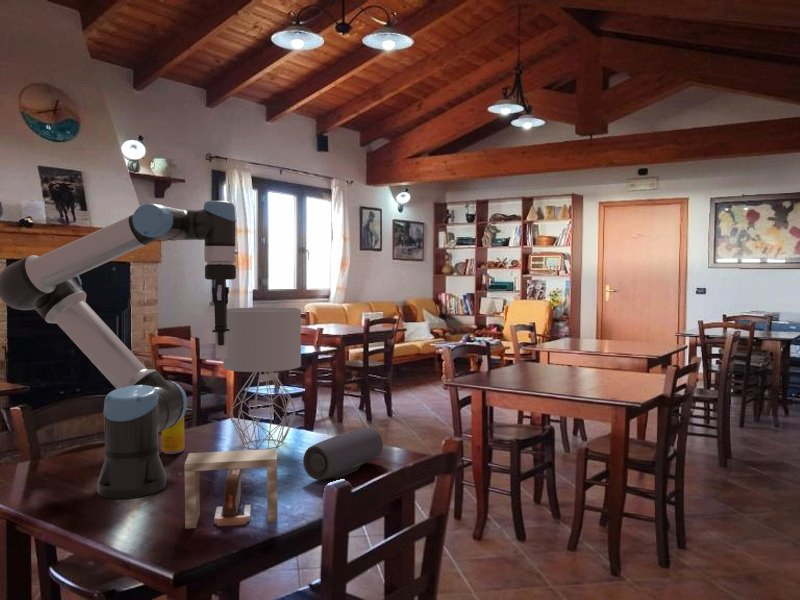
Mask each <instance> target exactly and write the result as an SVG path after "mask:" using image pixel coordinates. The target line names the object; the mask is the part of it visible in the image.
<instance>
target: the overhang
mask: <svg viewBox="0 0 800 600" xmlns="http://www.w3.org/2000/svg"><path fill="white" fill-rule="evenodd" d="M239 468H243V469H252V468H253V469H254V468H266V492H267V493H266V505H267V506H266V507H267V508H266V513H267V516H266V517H267V518H266V519H267V523H268V524H270V523H278V453H277V448H271V449H265V448H262V449H260V450H257V449H249V450H248V449H245V450H227V451H226V450H223V451H206V452H189V453H188V454H187V458H186V459H185V462H184V519H185V520H184V521H185V522H184V524H185V525H184V527H185V528H184V529H186V530H187V529H196V528H197V524H198V521H199V518H200V515H201V513H200V512H201V511H200V509H201V507H200V501H201V500H200V471H218V470H219V471H221V470H229V469H239Z"/></svg>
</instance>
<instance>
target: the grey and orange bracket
mask: <svg viewBox="0 0 800 600" xmlns="http://www.w3.org/2000/svg"><path fill="white" fill-rule="evenodd" d="M251 507H252V506H251V504H244V510H243V514H238V515H235V516H224V515H223V506H216V509H215V514H214V522H213V523H214V525H216V526H217V527H228V526H241V525H243V526H244V525H247V524H248V523H250V522H251V511H252V509H251Z"/></svg>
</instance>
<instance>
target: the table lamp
mask: <svg viewBox="0 0 800 600" xmlns="http://www.w3.org/2000/svg"><path fill="white" fill-rule="evenodd" d="M301 311H302V309H301V308H297V307H280V306H279V307H277V306H275V307H274V306H273V307H272V306H271V307H270V306H269V307H268V306H267V307H266V306H265V307H261V306H259V307H257V306H255V307H234V308H233V307H232V308H227V329H229V331H226V332H227V358H222V363H223V364H222V365H223V367H222V368H223V369H224V370H227V371H232V372H241V373H243V372H245V373H252V374H251V375H250V376H249V378H248V379H247V380H246V381H245V383H244V385H243V386H242V387H241V389H240V390H239V392H238V393H237V395H236V396H235V399H234V402H233V404H232V407H231V409H230V415H229V418H230V421H231V422H232V425H233V426H234V430H235V431H236V433H237V435H238V438H239V439H240V442H241V444H242V445H243V447H244V448H247V449H249V450H261V448H260V447H261V446H262V445H263V443H264V442H265V440H266V441H267V447H266V448H264V449H277V448H279V447H281V446H283V445H284V442H285V440H286V439H287V436H288V433H289V431H290V429H291V427H292V424H293V423H294V419H295V417H296V408H295V403H294V401H293V399H292V396H291V393H290V392H289V391H288V389H286V388H285V387H286V386H284V385H283V383H282V382H281V381H280V379H279V378H278V377H277V375H276V374H275V372H281V371H282V372H284V371H290V370H294V369H299V368H301V366H302V335H301V334H302V328H301V327H302V326H301V325H302V321H301V319H302V318H301V317H302V316H301V314H302V312H301ZM257 373H259V374H258V375H259V376H258V381H257V385H256V391H255V392H254V393H253V394H252V395H250V396H249V397H248V398H246V395H247V393H248V391H249V389H250V387H251V385H252V383H253V381H254V380H255V377H256V375H257ZM261 373H263V374H264V379H265V384H266V385H265V386H266V392H267V396H265V394H262V393H261V392H259V386H260V380H261V375H262V374H261ZM268 374H269V376H270V378H271V380H272V382H273V384H274V386H275V389H276V391H277V392H278V395H276V396H275V397H274V398H273V395H272V390H271V385H270V381H269V378H268ZM250 379H251V380H250ZM249 381H250V382H249ZM248 382H249V384H248ZM247 384H248V386H247V388H246V390H245V392H244V394H243V397H242V399H241V398H240V397H239V396H240V394H241V393H242V391H243V390H244V388H245V387H246V385H247ZM277 386H278V387H277ZM268 387H269V388H268ZM281 387H282V388H281ZM282 389H283V390H282ZM279 390H280V391H279ZM283 391H284V392H285V393H284V392H283ZM269 392H270V395H269ZM258 393H259V395H261V396H263V397H264V398H266V399H268V401H267V402H265V403H264V404H262V405H261V406H260V407H258V405H257V404H258ZM281 394H282V395H281ZM254 395H255V396H254ZM252 396H254V401H253V410H252V409H251V407H249V405H248V404H247V403H246V402H247V401H248V400H249V399H251V398H252ZM277 397H280V399H281V401H282V404H283V408H282V407H281V406H280V405H278V404H276V403H275V402H273V401H274V400H275V399H277ZM245 398H246V399H245ZM286 398H287V401H286ZM237 399H238V400H239V402H238V403H237V404H236V401H237ZM289 401H290V403H291V405H292V407H293V412H292V413H290V415H288V416H287V410H288V409H287V408H288V404H289ZM268 403H269V410H268V411H267V412H265V413H264V414H263V416H261V417H260V418H259V419H258V412H259V410H260V409H261V408H263V407H264V406H265V405H267V404H268ZM239 404H240V406H239V410H238V416H237V422H236V419H235V416H234V414H233V411H234V409H235V408H236V407H237V406H238V405H239ZM243 404H244V405H246V407H248V409H249V410H250V411H251V413H252V416H251V415H249V414H248V413H247V412H245V411H243ZM274 405H275V406H276V407H278V408H279V409H282V410H283V411H284V414H283V418H281V417H280V416H279V414H278V413H277V412H276V409H274V407H273V406H274ZM257 407H258V409H257ZM273 411H274V413H275V414H276V416H277V417H278V418H279V420H280V421H281V422H279V424H278V425H276V426H274V428H273V429H272V428H271V427H272V418H273ZM243 413H244V414H245V415H247V416H248V417H250V418H251V419H252V421H251V422H250V424H249V425H248V426H247V425H246V421H245V417H244V415H243ZM255 413H256V418H255ZM268 413H269V414H270V415H269V416H270V417H269V419H270V421H269V422H270V423H269V430H267V429H266V428H264V427H263V426H262V425H261V424H260V422H259V421H260V420H261V419H263V417H264V416H265V415H266V414H268ZM241 415H242V419H243V423H244V425H245V429H244V430H243V428H242V425H241V423H240V419H241ZM290 417H291V419H290V422H289V421H288V419H289V418H290ZM255 421H256V422H255ZM286 422H287V425H288V427H287V428H286V431H285V433H284V429H285V426H286ZM251 425H252V426H253V430H252V431H253V432H252V435H251V437H250V434H249V430H248V428H249V427H250V426H251ZM259 427H260V428H261V430H262V431H263V433H264V435H265V438H263V439H261V438H260V431H259ZM256 428H257V433H258V439H257V435H256V434H257V433H256ZM271 429H272V430H271ZM278 429H279V431H278V435H277V438H276V440H277V442H275V441H276V440H275V439H274V437H273V435H275V434H276V432H277V430H278ZM245 431H246V432H247V434H246V433H245ZM273 431H274V432H273ZM266 432H267V433H268V434H267V433H266ZM272 432H273V433H272ZM271 433H272V434H271ZM283 434H284V435H283ZM253 436H254V439H253ZM271 438H272V439H271ZM252 439H253V440H252ZM247 440H248V441H247ZM258 441H261V443H260V444H259V445H258ZM270 441H273V443H274V446H273V447H269V446H270V444H269V443H270ZM254 442H255V444H254ZM249 443H251V444H252V445H253V447H255V448H253V447H249ZM276 443H277V444H276ZM246 445H247V446H246Z"/></svg>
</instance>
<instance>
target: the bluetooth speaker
mask: <svg viewBox="0 0 800 600" xmlns="http://www.w3.org/2000/svg"><path fill="white" fill-rule="evenodd" d="M383 443H384V442H383V440H382V437H381V435H380V433H379V431H378V430H377V429H375V428H373V427H362V428H358V429H354V430H351V431H346V432H345V433H341V434H337V435H335V436H332V437H329V438H326V439H325V440H321V441H319V442H317V443H314V444H313V445H311V446H308V448H307V449H306V450H305V452H304V454H303V459H302V463H303V468H304V470H305V473H306V474H307V475H308V476H309V477H310V478H311V479H314V480H318V481H322V480H326V479H329V478H330V479H340V478H343V477H346V476H348V475H350V474H349V473H351V472H353V473H355V472H357V471H359V470H360V469H359V468H360V467H361V466H363V465H365V464H367V463H369V462H371V461H372V460H375V458H377V457H378V456H380V455H381V454H382V452H383V448H384V444H383ZM358 469H359V470H358ZM356 470H357V471H356ZM354 471H355V472H354ZM347 474H348V475H347ZM351 474H352V473H351ZM345 475H346V476H345ZM342 476H343V477H342ZM339 477H340V478H339Z"/></svg>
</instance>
